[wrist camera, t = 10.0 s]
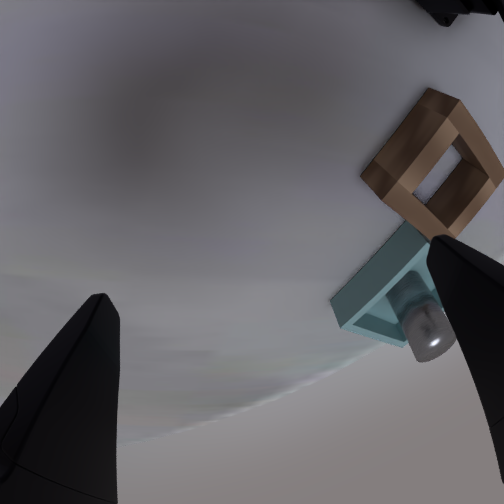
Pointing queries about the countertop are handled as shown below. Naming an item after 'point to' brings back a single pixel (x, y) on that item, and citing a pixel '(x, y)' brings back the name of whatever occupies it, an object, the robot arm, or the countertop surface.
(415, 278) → the translucent grey cylinder
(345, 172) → the countertop surface
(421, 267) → the tray
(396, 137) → the block
